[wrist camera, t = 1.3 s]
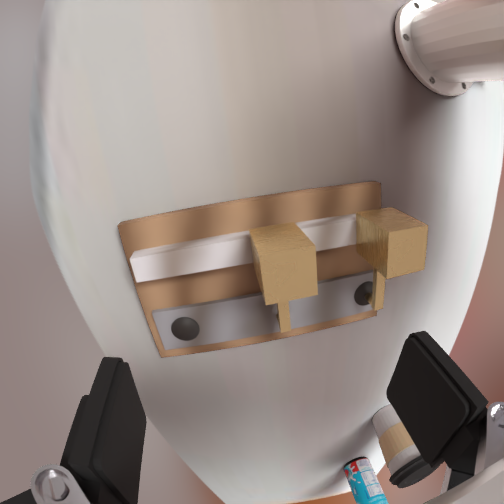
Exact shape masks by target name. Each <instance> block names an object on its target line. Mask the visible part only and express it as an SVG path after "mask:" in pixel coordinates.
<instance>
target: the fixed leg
mask: <svg viewBox="0 0 504 504" xmlns="http://www.w3.org/2000/svg"><path fill="white" fill-rule="evenodd" d="M427 234H428V225H426V224H425V223H423V222H421V221H419V220H417V219H415V218H413V217H411V216H409V215H407V214H405V213H403V212H401V211H399V210H397V209H394V208H392V207H389V208H382V209H375V210H368V211H361V212H356V252H357V253H358V254H359V255H360V256H362V257H363V258H364V259H365V260H366V261H367V262H368V263H369V264H370V265H372V266H373V267H374V269H373V289H372V293H370V292H369V293H367V294H366V295H365V299H366V300H367V301H368V302H369V304H370V305H371V307H372V308H373V309H374V311H375V310H379V309H383V301H384V290H385V278H386V279H389V278H393V277H397V276H401V275H405V274H409V273H413V272H417V271H421V270H424V267H425V258H426V247H427Z"/></svg>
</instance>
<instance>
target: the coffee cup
mask: <svg viewBox="0 0 504 504" xmlns="http://www.w3.org/2000/svg"><path fill="white" fill-rule="evenodd" d="M372 422H373V425H374V428H375V430H376V433H377V436H378V439H379V444H380V447H381V450H382V453H383V456H384V458H385V461H386V464H387V467H388V468H389V470H390V473H391V477H390V479H389V480H390V482H391V483H392V484H393V485H397V486H398V488H404V487H408V486H410V485H413V484H415V483H417V482H419V481H420V480H422V479H424V478H425V477H427V476H428V475H430V474H431V473H432V472H433V471H434V470H436V469H437V468H438V467H439V466H440V464H439V465H437V466H435V467H433V468H431V466H430V465H429V463H426V462H425V461H424V460H423V458H422V456H421V454H420V453H419V451H418V449H417V447H416V446H415V444H414V442H413V440H412V439H411V437H410V435H409V434H408V432H407V430H406V428H405V427H404V425H403V423H402V422H401V420H400V418H399V417H398V415H397V413H396V412H395V410H394V408H393V407H392V405H391V404H390V405H387V406H385V407H383V408H382V409H380V410H379V411H378V412H377V413H376V414H375V415H374V417H373V419H372Z"/></svg>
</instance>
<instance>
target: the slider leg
mask: <svg viewBox="0 0 504 504" xmlns="http://www.w3.org/2000/svg"><path fill="white" fill-rule="evenodd" d="M249 234H250V241H251V248H252V255H253V261H254V268H255V273H256V276H257V279H258V282H259V286H260V289H261V292H262V295H263V298H264V301H265V304H266V305H270V304H275V303H277V311H278V313H277V315H276V318H277V320H278V323H279V329H280V331H281V333H283V332H288V331H291V323H290V312H289V301H291V300H296V299H301V298H306V297H310V296H315V295H318V286H317V264H316V247H315V245H314V243H313V242H312V241H311V240H310V239H309V238H308V237H307V236H306V235H305V233H304V232H303V231H302V230H301V229H300V228H299V227H298V226H297V225H296V224H295V222H290V223H284V224H278V225H272V226H266V227H260V228H254V229H249Z"/></svg>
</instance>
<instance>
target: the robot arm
mask: <svg viewBox="0 0 504 504" xmlns="http://www.w3.org/2000/svg"><path fill="white" fill-rule="evenodd" d="M395 33H396V39H397V43H398V46H399V49H400V52H401V54H402V56H403V58H404V60H405V62H406V64H407V65H408V67H409V68H410V70H411V71H412V72H413V74H414V75H415V76H416V78H417V79H418V80H420V81H421V82H422V83H423V84H424V85H425V86H426V87H428V88H429V89H430V90H432V91H434V92H436V93H438V94H441V95H445V96H456V95H461V94H463V93H465V92H466V91H467V90H468V89H469V88H470V86H471V85H472V83H473V82H477V81H504V0H446V1H443V2H441V3H436V2H433V1H431V0H412V1H409V2H408V3H406V4H404V5H403V6H402V7H401V8H400V9H399V11H398V13H397V16H396V21H395ZM387 398H388V400H389V402H390V403H391V405H392V407H393V408H394V410H395V412H396V413H397V415H398V417H399V418H400V420H401V422H402V423H403V425H404V427H405V428H406V430H407V432H408V434H409V435H410V437H411V439H412V440H413V442H414V444H415V446H416V447H417V449H418V451H419V453H420V454H421V456H422V458H423V460H424V461H425V462H426V463H429V465H430V466H431V468H433V467H435V466H437V465H439V464H442V463H443V462H444V461H445V462H446V464H447V467H446V472H445V476H444V481H443V485H442V490H441V493H440V495H439V496H437V497H436V498H434V499H431V500H429V501H427V502H425V503H424V504H504V402H495V403H493V404H491V405H490V407H489V408H488V409H487V408H486V405H487V404H488V401H487V399H486V398H485V397H484V396H483V395H482V394H481V392H480V391H479V390H478V389H477V388H476V387H475V385H474V384H473V383H472V382H471V381H470V379H469V378H468V377H467V376H466V375H465V374H464V372H462V370H461V369H460V368H459V367H458V366H457V365H456V363H455V362H454V361H453V360H452V359H451V358H450V357H449V356H448V354H447V353H446V352H445V351H444V350H443V349H442V348H441V347H440V346H439V345H438V343H437V342H436V341H435V340H434V339H433V338H432V337H431V336H430V335H429V334H428V333H427V332H426V331H421V332H416V333H412V334H410V335H409V337H408V338H407V339H406V340H405V343H404V346H403V349H402V352H401V354H400V357H399V360H398V363H397V365H396V368H395V371H394V373H393V376H392V378H391V381H390V383H389V386H388V388H387ZM145 430H146V415H145V412H144V410H143V407H142V404H141V401H140V398H139V395H138V392H137V389H136V386H135V383H134V380H133V377H132V374H131V371H130V367H129V364H128V363H127V362H123V360H122V358H115V357H104V358H103V359H102V361H101V364H100V366H99V369H98V372H97V375H96V377H95V380H94V383H93V385H92V388H91V391H90V394H89V395H84V396H83V397H82V399H81V401H80V404H79V407H78V409H77V412H76V415H75V418H74V421H73V424H72V427H71V430H70V433H69V436H68V439H67V442H66V446H65V449H64V452H63V456H62V459H61V463H60V466H59V465H55V464H50V465H45V466H42V467H40V468H39V469H37V471H36V472H35V473H34V474H33V476H32V478H31V489H29V490H27V491H25V492H23V493H21V494H19V495H16V496H14V497H12V498H10V499H8V500H6V501H3V502H1V503H0V504H137V503H138V491H139V481H140V470H141V462H142V453H143V445H144V437H145Z"/></svg>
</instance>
